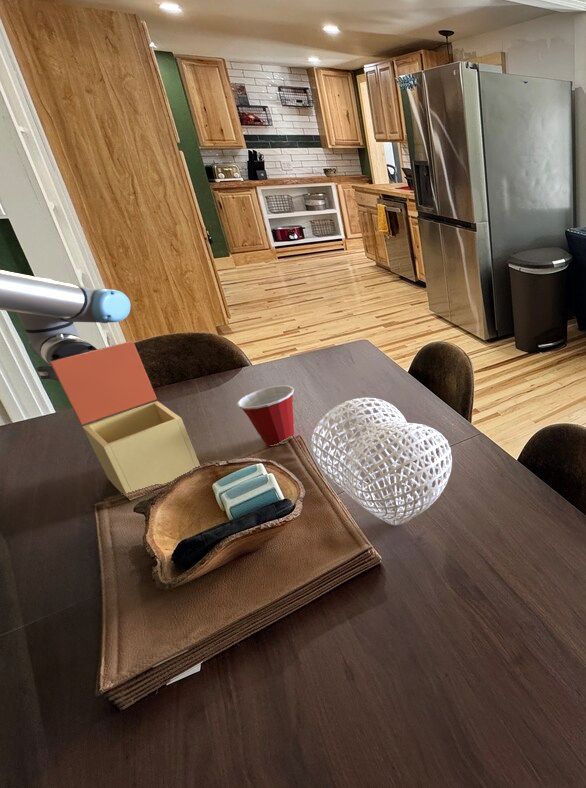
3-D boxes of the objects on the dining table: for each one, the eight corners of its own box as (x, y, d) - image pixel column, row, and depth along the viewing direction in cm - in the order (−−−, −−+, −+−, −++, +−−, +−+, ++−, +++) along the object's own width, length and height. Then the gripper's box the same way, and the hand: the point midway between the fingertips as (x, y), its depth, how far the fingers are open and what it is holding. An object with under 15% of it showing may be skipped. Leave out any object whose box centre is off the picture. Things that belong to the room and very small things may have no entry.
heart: (479, 530, 85) (466, 425, 76) (399, 591, 73) (374, 475, 65) (393, 469, 100) (374, 376, 92) (317, 511, 89) (287, 409, 80)
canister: (201, 469, 100) (181, 417, 95) (130, 502, 91) (103, 447, 86) (177, 450, 106) (157, 400, 101) (108, 479, 97) (82, 426, 92)
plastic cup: (290, 421, 117) (278, 378, 112) (315, 434, 112) (303, 390, 107) (241, 443, 108) (226, 398, 104) (266, 459, 103) (251, 412, 99)
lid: (133, 341, 96) (131, 340, 96) (50, 362, 87) (49, 361, 87) (157, 399, 101) (155, 398, 101) (81, 424, 92) (80, 423, 92)
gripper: (19, 349, 99) (51, 377, 88) (103, 330, 109) (141, 352, 98) (36, 381, 102) (68, 412, 91) (116, 359, 112) (154, 384, 101)
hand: (106, 381), depth 94 cm, fingers closed
